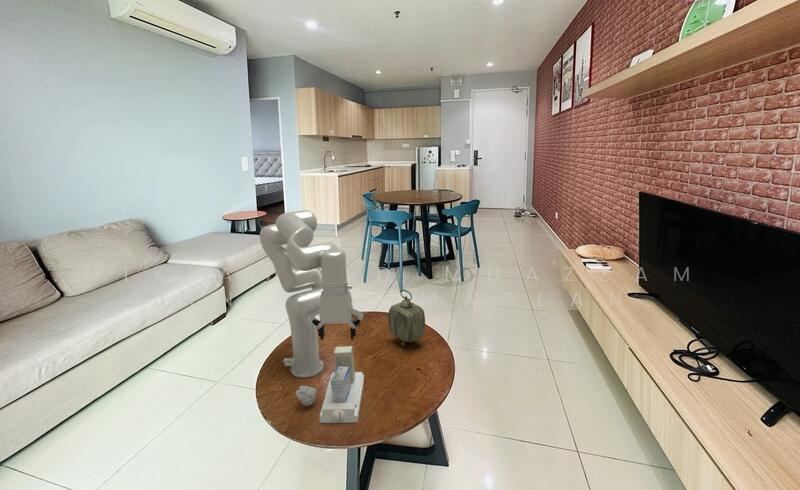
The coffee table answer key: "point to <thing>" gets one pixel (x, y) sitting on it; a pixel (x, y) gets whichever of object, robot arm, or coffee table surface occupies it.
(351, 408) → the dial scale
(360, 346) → the coffee table surface
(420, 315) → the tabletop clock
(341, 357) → the skincare box
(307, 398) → the grey lumpy chunk
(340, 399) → the medicine box
